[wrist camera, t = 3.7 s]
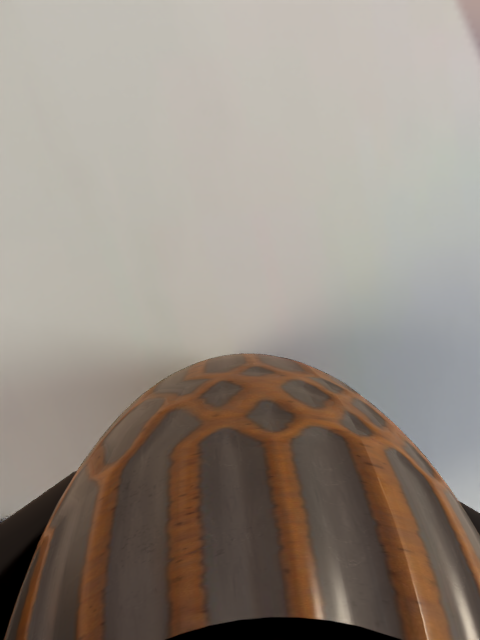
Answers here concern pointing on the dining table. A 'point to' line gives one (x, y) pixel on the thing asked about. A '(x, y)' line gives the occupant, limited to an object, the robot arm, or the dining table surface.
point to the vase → (253, 521)
